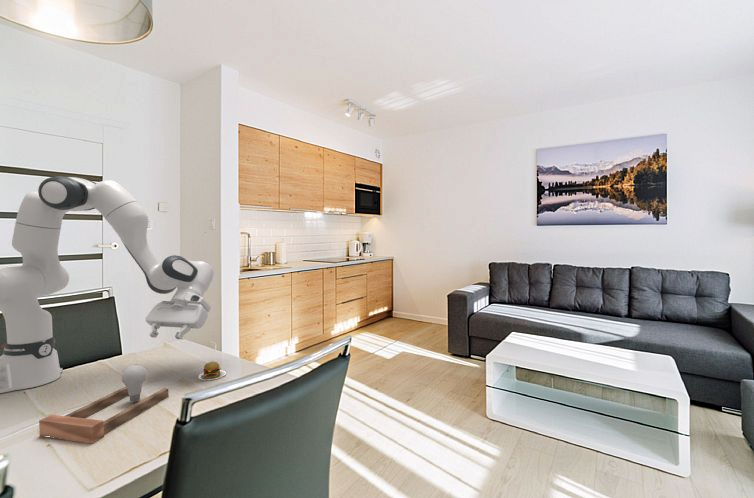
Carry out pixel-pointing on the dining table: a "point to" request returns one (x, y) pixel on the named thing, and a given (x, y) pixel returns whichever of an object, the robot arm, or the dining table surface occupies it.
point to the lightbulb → (134, 381)
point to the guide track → (93, 430)
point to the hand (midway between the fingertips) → (165, 337)
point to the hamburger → (211, 371)
